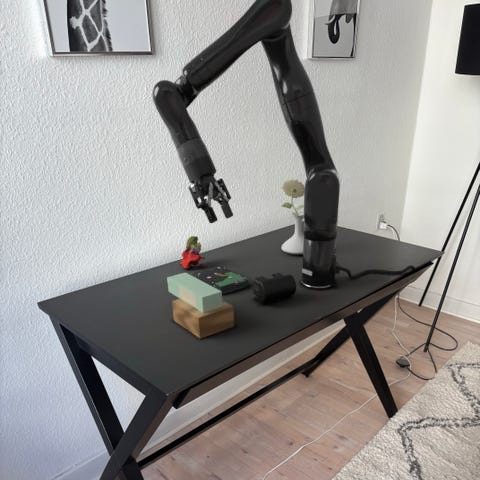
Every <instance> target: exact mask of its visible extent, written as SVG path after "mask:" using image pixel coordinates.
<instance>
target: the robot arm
mask: <svg viewBox="0 0 480 480" xmlns="http://www.w3.org/2000/svg"><path fill="white" fill-rule="evenodd" d="M292 16H293V3H292V0H255V1H254V2H253V3H252V4H251V5H250V6H249V8H248V9H247V10H246V11H245V12H244V13H243V15H242V16H240V18H239V19H237V21H236V22H234V24H233V25H232V26H231V27H230V28H229V29H227V30H226V31H225V32H224V33H223V34H222V35H220V36H219V37H218V38H216V39H215V40H214V41H213V42H211V43H210V44H209V45H207V46H206V47H205V48H204V49H203V50H202V51H200V52H199V53H198V54H197V55H196V56H194V57H193V58H192V59H191V60H189V61H188V62H187V63H185V65H184V66H183V67H182V70H181V75H180V76H179V77H178V78H177V79H176V80H175V81H171V80H169V79H162V80H159V81H158V82H156V84H155V85H154V86H153V88H152V92H151V97H152V102H153V104H154V107H155V109H156V111H157V113H158V115H159V117H160V118H161V120H162V122H163V124H164V125H165V127H166V129H167V131H168V133H169V136H170V138H171V141H172V143H173V145H174V148H175V150H176V152H177V156H178V159H179V162H180V163H181V166H182V168H183V170H184V172H185V175H186V176H187V179H188V181H189V183H190V185H189V186H188V190H189V192H190V195H191V198H192V200H193V202H194V205H195V207H196V209H198V210H199V209H201V210H202V211H203V212H204V214H205V216H206V218H207V220H208V223H209V224H214V223H215V222H218V216H217V215H216V211H215V210H214V207H213V206H212V200H213V201H214V202H216V203H218V204H219V206H220V208H221V211H222V213H223V215H224V217H225V219H226V220H227V219H230V218H232V217H233V216H234V213H233V210H232V208H231V206H230V204H229V202H230V200H231V199H232V196H231V194H230V192H229V190H228V187H227V184H226V183H225V181H224V179H223V178H219V179H216V177H215V175H216V173H217V169H216V166H215V164H214V161H213V159H212V157H211V154H210V152H209V149H208V148H207V145H206V144H205V142H204V141H203V139H202V137H201V134H200V132H199V129H198V127H197V125H196V123H195V121H194V120H193V118H192V117H191V116H190V113H189V111H188V108H189V106H191V104H193V103H194V101H195V100H196V99H197V97H198V96H200V94H201V93H202V92H203V91H205V90H206V89H207V88H208V87H209V86H211V85H212V84H213V83H215V82H216V81H217V80H218V79H219V78H220V77H222V76H223V75H224V74H225V73H226V72H227V71H228V70H229V69H230V68H231V67H232V66H233V65H234V64H235V63H236V62H237V61H238V60H240V58H241V57H242V56H243V55H245V54H246V52H247V51H249V50H250V49H252V48H253V47H254V46H256V45H257V44H258V43H260V44H261V46H262V49H263V51H264V53H265V56H266V58H267V61H268V64H269V66H270V73H271V77H272V81H273V86H274V90H275V93H276V96H277V97H276V98H277V101H278V104H279V107H280V111H281V114H282V116H283V119H284V120H283V121H284V122H285V123H284V124H285V125H286V127H287V130H288V132H289V133H290V136H291V138H292V140H293V141H294V144H295V145H296V147H297V149H298V151H299V153H300V156H301V159H302V163H303V168H304V172H305V177H306V179H305V182H304V188H305V189H304V196H303V205H304V207H303V212H304V218H303V236H304V241H303V254H302V268H301V285H302V286H303V287H305V288H309V289H313V290H326V289H329V288H335V281H336V275H339V274H340V271H342V272H345V273H346V274H347V276H348V278H350V279H357V278H359V277H361V276H363V275H367V274H369V273H370V274H371V273H377V274H378V273H380V274H388V275H401V274H404V273H407V271H409V270H412V271H416V270H417V268H416V267H415V266H414V265H407V266H406V267H405V268H404V269H401V270H386V269H376V268H372V269H371V268H370V269H365V270H363V271H361V272H359V273H357V274H355V275H353V274H352V272H351V270H350V269H349V268H346V267H343V266H340V264H339V261H337V253H336V249H337V239H338V238H337V237H338V225H339V223H338V222H339V205H340V191H341V177H340V174H339V172H338V169H337V167H336V165H335V163H334V160H333V158H332V155H331V152H330V150H329V148H328V144H327V140H326V136H325V130H324V124H323V123H324V122H323V119H322V114H321V111H320V106H319V102H318V99H317V95H316V92H315V89H314V85H313V83H312V81H311V78H310V76H309V75H308V72H307V70H306V69H305V66H304V64H303V63H302V61H301V59H300V57H299V54H298V51H297V49H296V45H295V40H294V36H293V33H292V28H291V27H292V26H291V20H292Z"/></svg>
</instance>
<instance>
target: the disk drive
mask: <svg viewBox="0 0 480 480" xmlns="http://www.w3.org/2000/svg"><path fill="white" fill-rule="evenodd" d="M192 276H193V277H195V278H197V279H199V280H201V281H203V282H204V283H206V284H208V285H210V286H212V287H214V288H216V289H218V290H220V291H222V295H223V294H227V293H231V292H234V291H237V290H240V289H244V288H246V287H249V280H248V278H247V277H245V276H244V275H241V274H240V273H237V272H235V271H232V270H231V269H228V268H226V267H224V266H222V265H217V266H213V267H210V268H206V269H204V270H203V271H199V270H198V271H195V272H193V273H192Z"/></svg>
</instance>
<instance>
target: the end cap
mask: <svg viewBox="0 0 480 480" xmlns="http://www.w3.org/2000/svg"><path fill="white" fill-rule="evenodd" d="M271 276H272V277H273V278H266V277H265V276H257V277H255V278H253V279H252V285H253V286H255V287H256V288H257V289H256V288H253V289H252V292H253V295H254V297H253V299H254V300H255V301H256V302H257V303H259V304H260V305H264V304H269V303H273V302H276V301H281V300H285V299H289V298H291V297H293V296H294V295H295V294H296V292H297V283H296V280H295V278H294V276H293V275H291V274H290V273H289V274H286V275H285V274H284V273H281V272H277V273H272V274H271Z"/></svg>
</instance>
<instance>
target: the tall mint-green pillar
mask: <svg viewBox="0 0 480 480" xmlns="http://www.w3.org/2000/svg"><path fill="white" fill-rule="evenodd" d="M166 278H167V279H166V281H167V289H168V293H170V294H172V295H173V296H175V297H176V298H177V299H181V300H183V301H185V302H186V303H188V304H190V305H191V306H193V307H194V308H196V309H198V310H199V311H201V312H203V313H205V312H208V311H211V310H214V309H217V308H220V307H222V300H223V294H222V291H220V290H218V289H216V288H214V287H212V286H210V285H208V284H206V283H204V282H203V281H201V280H199V279H197V278H195V277H193V275H191V274H190V273H188V272H182V273H178V274H175V275H170V276H167V277H166Z"/></svg>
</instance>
